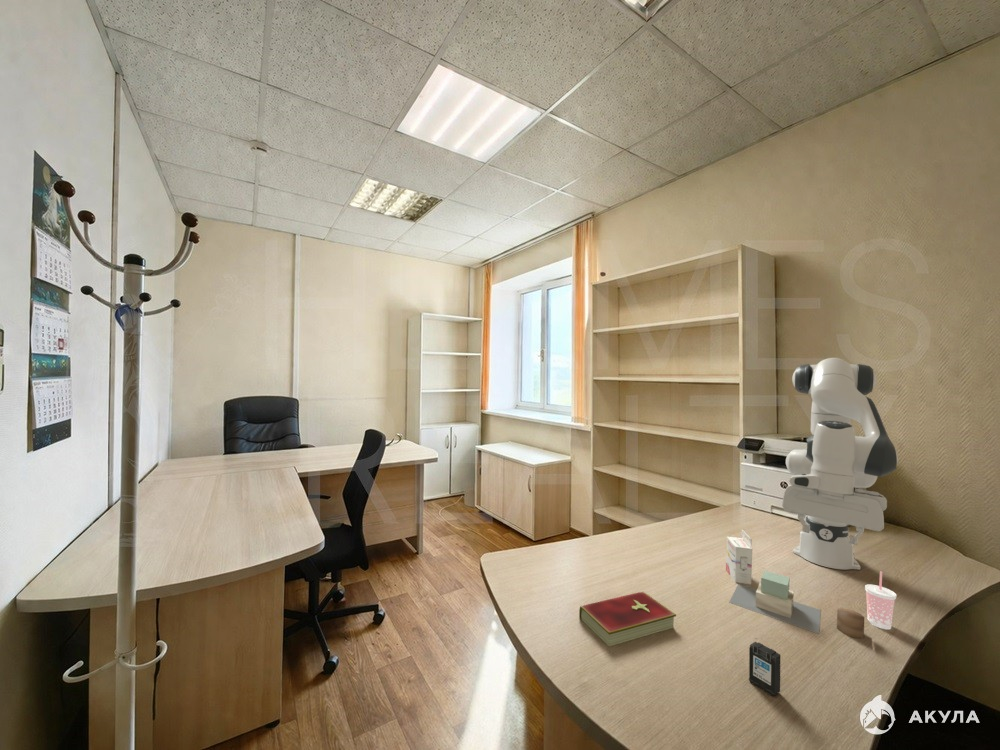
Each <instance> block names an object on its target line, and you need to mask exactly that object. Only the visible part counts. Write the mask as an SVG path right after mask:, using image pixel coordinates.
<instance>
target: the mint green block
mask: <svg viewBox="0 0 1000 750" xmlns="http://www.w3.org/2000/svg"><path fill="white" fill-rule="evenodd" d="M790 579H791V577H788V576H786V575H782V574H779V573H775V572H773V571H768V570H765V569H764V570H763V572H762V575H761V577H760V581H761V592H762V593H765V594H769V595H772V596H775V597H778V598H781V599H784V600H787V598H788V594H789V590H790V582H791V581H790Z"/></svg>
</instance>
